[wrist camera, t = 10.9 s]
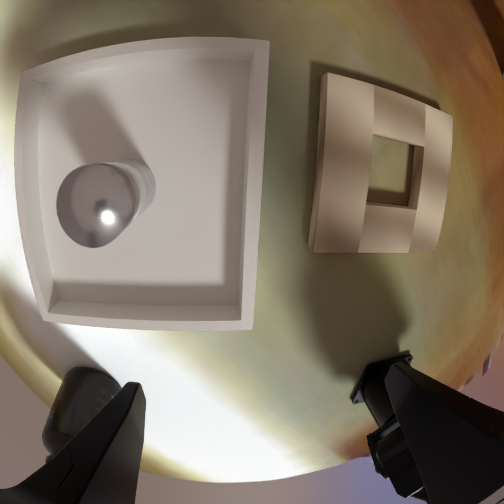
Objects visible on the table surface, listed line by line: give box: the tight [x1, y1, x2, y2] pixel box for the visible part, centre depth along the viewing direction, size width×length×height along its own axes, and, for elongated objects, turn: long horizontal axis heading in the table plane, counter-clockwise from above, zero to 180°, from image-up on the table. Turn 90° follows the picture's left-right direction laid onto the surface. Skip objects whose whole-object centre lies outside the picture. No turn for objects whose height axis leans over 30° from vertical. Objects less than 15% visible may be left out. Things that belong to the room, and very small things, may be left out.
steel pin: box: [56, 159, 156, 248], centre depth 13 cm, size 4×4×6 cm
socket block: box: [308, 73, 453, 253], centre depth 17 cm, size 12×12×1 cm
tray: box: [14, 37, 270, 331], centre depth 15 cm, size 18×16×2 cm
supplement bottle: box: [42, 367, 121, 463], centre depth 16 cm, size 7×7×12 cm
